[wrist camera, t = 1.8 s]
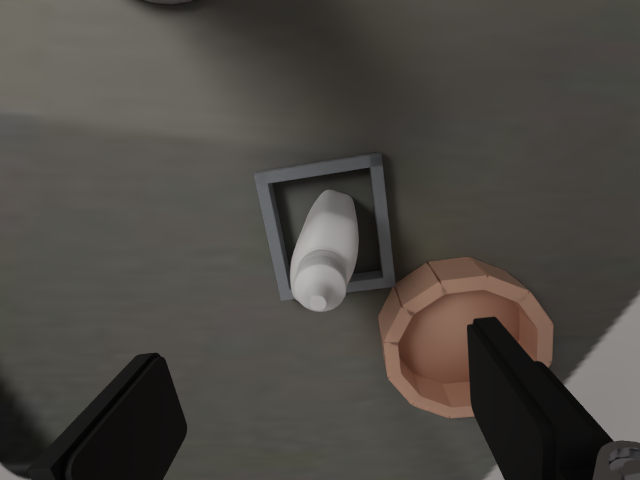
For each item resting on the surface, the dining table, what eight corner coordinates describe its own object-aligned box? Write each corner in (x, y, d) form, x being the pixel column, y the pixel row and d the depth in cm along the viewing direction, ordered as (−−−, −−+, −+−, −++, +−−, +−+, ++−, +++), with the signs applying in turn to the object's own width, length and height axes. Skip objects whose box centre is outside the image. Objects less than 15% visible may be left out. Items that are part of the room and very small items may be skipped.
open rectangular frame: (258, 171, 24) (253, 173, 23) (378, 151, 24) (381, 152, 22) (284, 291, 27) (281, 300, 26) (392, 278, 26) (395, 286, 25)
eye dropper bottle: (376, 222, 25) (405, 297, 14) (321, 270, 26) (306, 374, 15) (335, 179, 24) (331, 220, 13) (281, 230, 26) (233, 308, 14)
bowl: (371, 268, 26) (376, 288, 23) (527, 248, 25) (555, 266, 22) (387, 390, 29) (393, 422, 26) (525, 377, 28) (550, 410, 25)
